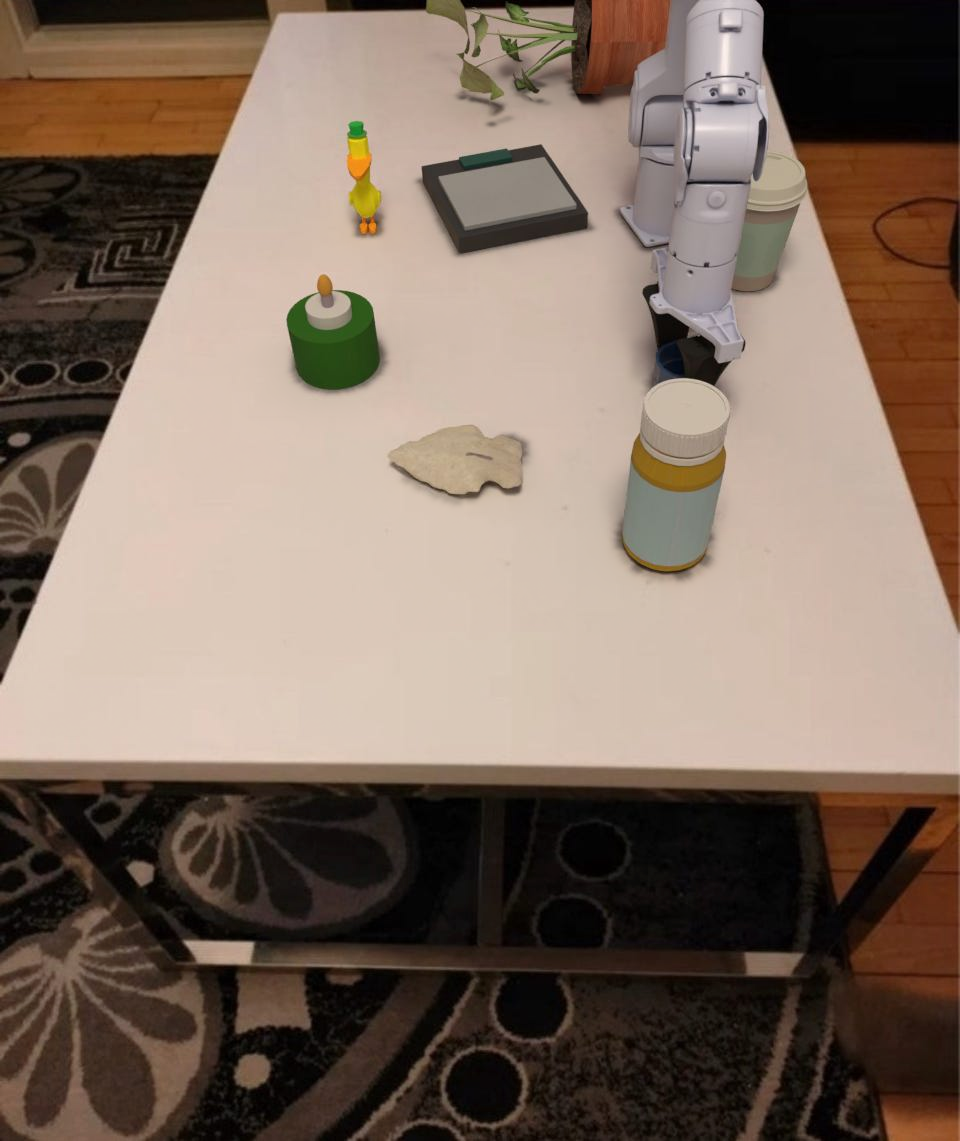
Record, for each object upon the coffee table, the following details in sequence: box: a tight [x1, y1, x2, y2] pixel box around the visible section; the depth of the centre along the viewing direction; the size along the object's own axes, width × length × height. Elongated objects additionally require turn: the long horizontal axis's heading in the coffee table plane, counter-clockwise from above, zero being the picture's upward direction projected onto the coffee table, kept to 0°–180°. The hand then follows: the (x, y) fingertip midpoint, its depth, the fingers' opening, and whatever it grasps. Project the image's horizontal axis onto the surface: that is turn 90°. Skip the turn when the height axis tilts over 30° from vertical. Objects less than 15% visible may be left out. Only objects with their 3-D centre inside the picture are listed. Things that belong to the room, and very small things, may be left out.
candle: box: [285, 273, 381, 390], centre depth 96 cm, size 8×8×10 cm
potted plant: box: [425, 0, 671, 101], centre depth 129 cm, size 16×15×35 cm
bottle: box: [621, 378, 731, 572], centre depth 78 cm, size 7×7×15 cm
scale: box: [421, 143, 589, 254], centre depth 116 cm, size 15×16×3 cm
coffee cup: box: [731, 149, 808, 292], centre depth 102 cm, size 9×9×12 cm
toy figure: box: [346, 120, 382, 235], centre depth 110 cm, size 7×4×12 cm, turn 1°
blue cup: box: [651, 340, 685, 389], centre depth 94 cm, size 6×6×4 cm
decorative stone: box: [387, 424, 523, 495], centre depth 89 cm, size 8×12×3 cm
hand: (682, 376), depth 94 cm, fingers closed on blue cup, 6 cm apart
